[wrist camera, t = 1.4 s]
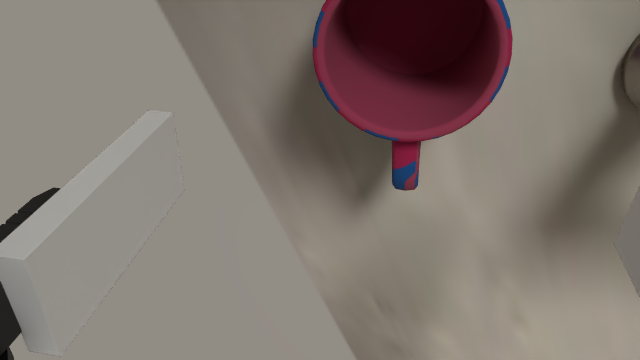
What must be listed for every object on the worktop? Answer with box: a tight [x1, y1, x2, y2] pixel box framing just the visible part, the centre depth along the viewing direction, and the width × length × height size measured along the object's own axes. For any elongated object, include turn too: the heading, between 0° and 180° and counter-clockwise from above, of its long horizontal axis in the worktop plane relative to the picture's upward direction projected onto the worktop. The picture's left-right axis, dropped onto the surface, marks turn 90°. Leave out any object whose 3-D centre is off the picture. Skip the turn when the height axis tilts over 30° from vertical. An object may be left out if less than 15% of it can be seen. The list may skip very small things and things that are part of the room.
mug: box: [313, 0, 512, 190], centre depth 21 cm, size 7×10×7 cm
